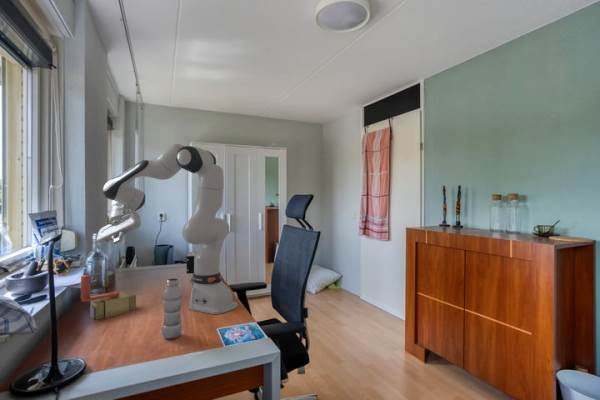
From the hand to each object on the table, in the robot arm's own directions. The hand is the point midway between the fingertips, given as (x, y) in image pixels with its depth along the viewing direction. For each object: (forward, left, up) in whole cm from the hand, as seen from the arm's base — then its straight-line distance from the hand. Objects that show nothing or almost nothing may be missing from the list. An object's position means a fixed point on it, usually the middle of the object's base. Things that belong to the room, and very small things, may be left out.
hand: (117, 242), depth 139 cm
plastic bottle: (-48, +4, -28) cm, 56 cm away
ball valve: (+5, -45, -28) cm, 53 cm away
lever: (-7, +10, -21) cm, 24 cm away
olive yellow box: (-8, +5, -28) cm, 30 cm away
